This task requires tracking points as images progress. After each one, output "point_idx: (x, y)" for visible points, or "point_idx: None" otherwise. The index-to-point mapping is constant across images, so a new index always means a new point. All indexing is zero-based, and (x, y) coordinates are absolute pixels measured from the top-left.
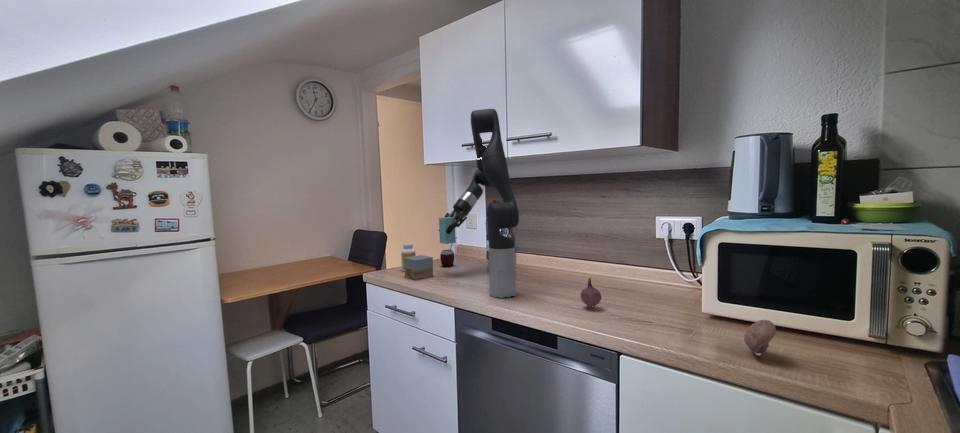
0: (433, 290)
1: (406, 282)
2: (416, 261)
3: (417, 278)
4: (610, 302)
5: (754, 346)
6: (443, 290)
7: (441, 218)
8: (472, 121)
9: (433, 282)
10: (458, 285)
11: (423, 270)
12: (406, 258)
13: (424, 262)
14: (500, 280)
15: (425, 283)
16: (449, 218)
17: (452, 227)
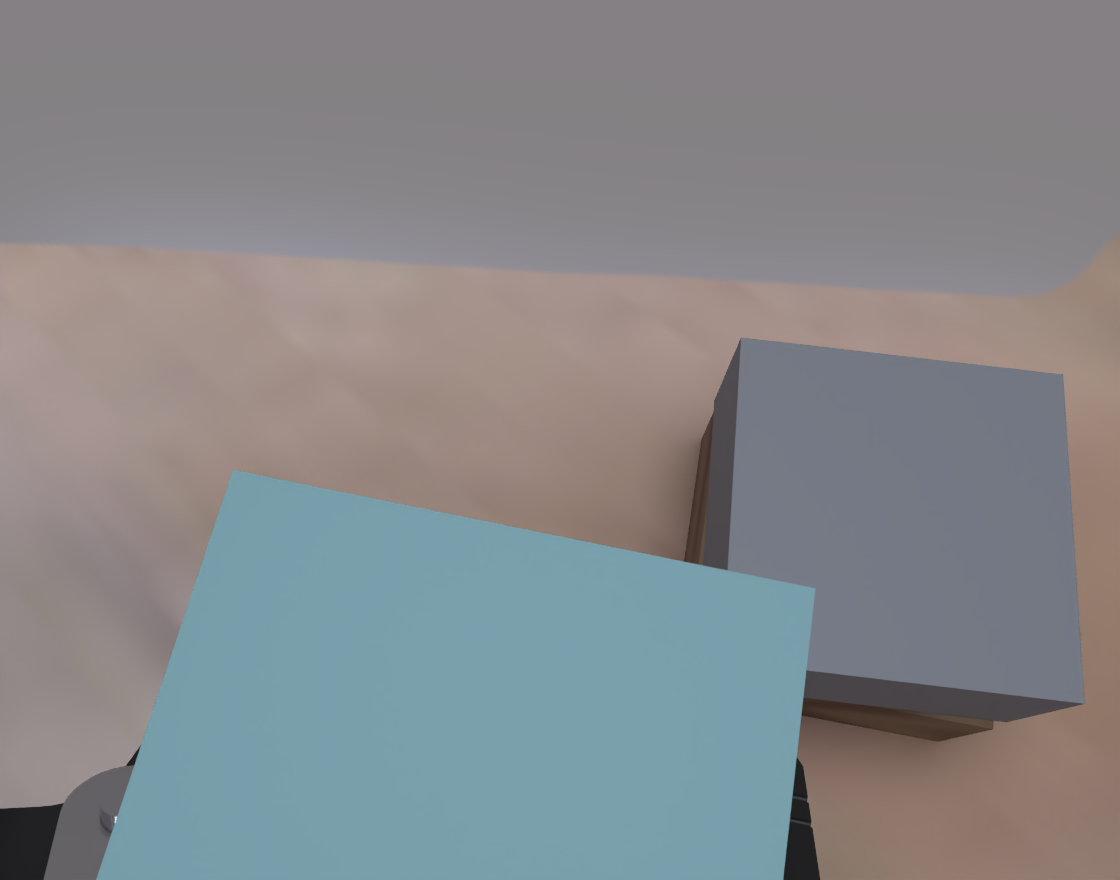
0: (222, 298)
1: (712, 339)
2: (735, 364)
3: (699, 463)
4: None
5: None
6: (129, 353)
7: (572, 545)
8: None
9: (457, 509)
10: (103, 585)
11: (702, 522)
12: (988, 366)
13: (720, 510)
14: None
15: (502, 428)
16: (151, 733)
17: None
